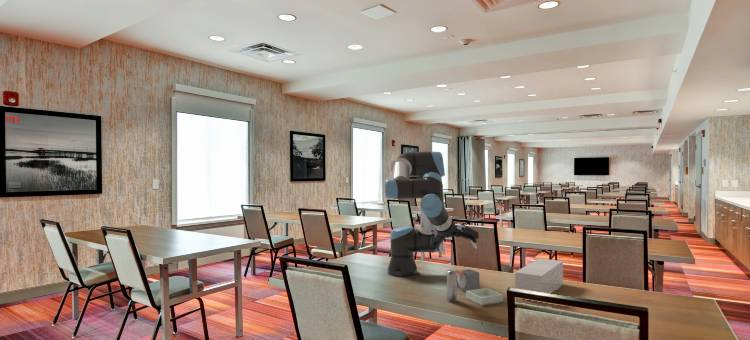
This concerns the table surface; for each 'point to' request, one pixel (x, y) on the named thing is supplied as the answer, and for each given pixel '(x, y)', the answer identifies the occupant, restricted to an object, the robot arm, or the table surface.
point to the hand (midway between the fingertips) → (459, 249)
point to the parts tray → (484, 296)
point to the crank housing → (468, 280)
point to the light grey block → (540, 276)
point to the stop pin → (451, 285)
